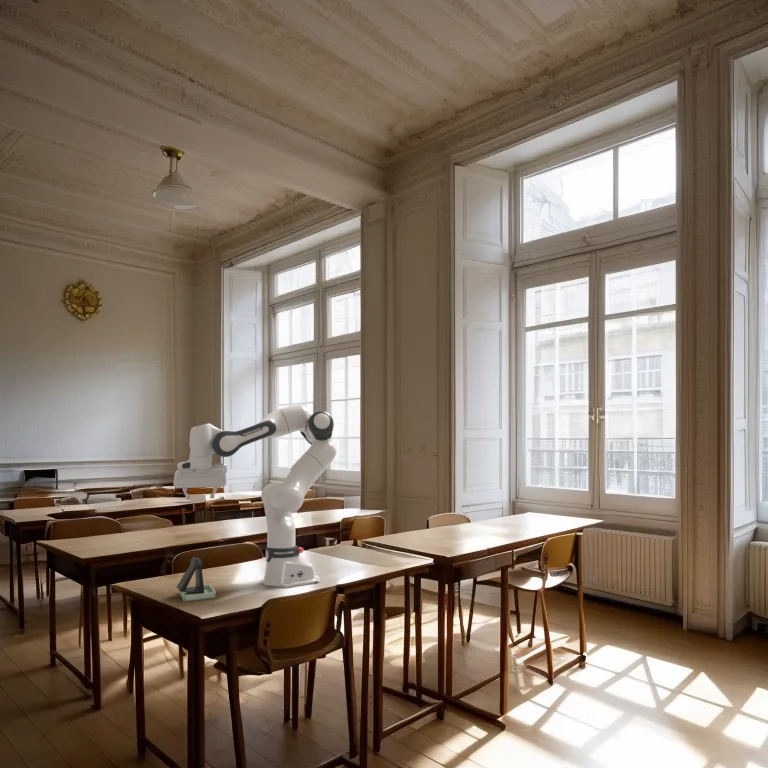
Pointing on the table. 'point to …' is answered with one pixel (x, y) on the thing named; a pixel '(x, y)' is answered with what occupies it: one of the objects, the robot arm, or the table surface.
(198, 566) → the dark grey a-shaped stand
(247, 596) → the table surface
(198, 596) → the tray
